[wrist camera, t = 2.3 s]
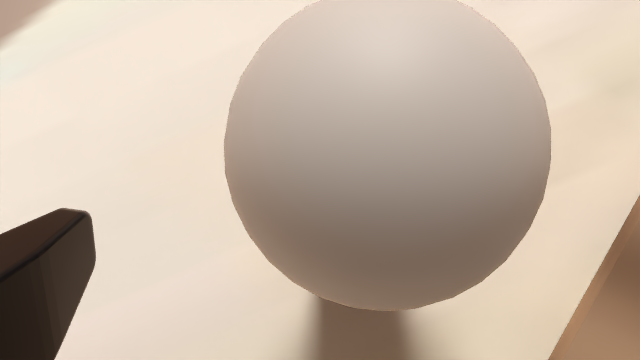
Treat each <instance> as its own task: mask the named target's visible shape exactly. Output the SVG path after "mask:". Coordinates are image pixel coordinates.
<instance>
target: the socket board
mask: <svg viewBox="0 0 640 360" xmlns="http://www.w3.org/2000/svg"><path fill="white" fill-rule="evenodd" d="M548 360H640V196H639V197H638V199H637V201H636V203H635V205H634V206H633V208H632V210H631V212H630V214H629V215H628V217H627V219H626V221H625V223H624V224H623V226H622V228H621V230H620V232H619V233H618V235H617V237H616V239H615V241H614V242H613V244H612V246H611V248H610V250H609V251H608V253H607V255H606V257H605V259H604V260H603V262H602V264H601V266H600V268H599V269H598V271H597V273H596V275H595V277H594V278H593V280H592V282H591V284H590V286H589V287H588V289H587V291H586V293H585V295H584V296H583V298H582V300H581V302H580V304H579V305H578V307H577V309H576V311H575V313H574V314H573V316H572V318H571V320H570V322H569V323H568V325H567V327H566V329H565V331H564V332H563V334H562V336H561V338H560V340H559V341H558V343H557V345H556V347H555V349H554V350H553V352H552V354H551V356H550V358H549V359H548Z"/></svg>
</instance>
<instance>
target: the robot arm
mask: <svg viewBox="0 0 640 360" xmlns="http://www.w3.org/2000/svg"><path fill="white" fill-rule="evenodd" d="M95 261H96V252H95V243H94V234H93V225H92V219H91V216H90V214H89V213H88V212H86V211H82V210H75V209H68V208H60V209H57V210H55V211H53V212H50V213H48V214H46V215H43V216H41V217H39V218H37V219H34V220H32V221H30V222H27V223H25V224H23V225H20V226H18V227H16V228H14V229H11V230H9V231H7V232H4V233H2V234H0V360H54V359H55V357H56V355H57V353H58V351H59V349H60V347H61V345H62V342H63V340H64V338H65V335H66V333H67V331H68V328H69V326H70V324H71V321H72V319H73V317H74V314H75V312H76V310H77V307H78V305H79V303H80V300H81V298H82V296H83V293H84V291H85V289H86V286H87V284H88V282H89V279H90V277H91V275H92V272H93V270H94V266H95Z"/></svg>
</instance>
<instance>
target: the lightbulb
mask: <svg viewBox="0 0 640 360" xmlns="http://www.w3.org/2000/svg"><path fill="white" fill-rule="evenodd" d="M224 157H225V174H226V178H227V182H228V186H229V190H230V194H231V198H232V202H233V204H234V207H235V209H236V211H237V213H238V215H239V217H240V219H241V221H242V223H243V225H244V227H245V229H246V231H247V233H248V234H249V236H250V238H251V239H252V240H253V241H254V243H255V244H256V245H257V247H258V248H259V249H260V251H261V252H262V253H263V254H264V256H265V257H266V258H267V260H268V261H269V262H270V263H271V264H273V265H274V266H275V267H276V268H277V269H278V270H279V271H281V272H282V273H283V274H284V275H285V276H286V277H288V278H289V279H290V280H291V281H292V282H294V283H296V284H297V285H299V286H301V287H303V288H304V289H306V290H308V291H310V292H312V293H313V294H315V295H317V296H319V297H320V298H323V299H326V300H329V301H332V302H336V303H339V304H342V305H345V306H348V307H351V308H359V309H367V310H376V311H394V310H405V309H416V308H419V307H423V306H426V305H429V304H433V303H436V302H439V301H443V300H446V299H449V298H453V297H455V296H456V295H458V294H460V293H462V292H464V291H466V290H467V289H469V288H471V287H473V286H475V285H477V284H478V283H480V282H482V281H483V280H484V279H485V278H486V277H488V276H489V275H490V274H491V273H492V272H493V271H495V270H496V269H497V268H498V267H499V266H500V265H502V264H503V263H504V262H505V261H506V260H507V258H508V257H509V256H510V255H511V253H512V252H513V251H514V249H515V248H516V247H517V245H518V244H519V243H520V241H521V240H522V239H523V237H524V236H525V234H526V233H527V231H528V230H529V228H530V227H531V224H532V222H533V220H534V218H535V216H536V213H537V211H538V209H539V207H540V205H541V203H542V200H543V197H544V193H545V188H546V184H547V179H548V174H549V170H550V161H551V127H550V122H549V117H548V112H547V107H546V102H545V99H544V96H543V94H542V91H541V89H540V87H539V84H538V82H537V80H536V77H535V75H534V73H533V71H532V70H531V68H530V67H529V65H528V64H527V62H526V61H525V59H524V58H523V56H522V55H521V53H520V52H519V50H518V49H517V47H516V46H515V45H514V44H513V43H512V42H511V41H510V40H509V39H508V38H507V37H506V36H505V34H504V33H503V32H502V31H501V30H500V29H499V28H498V27H497V26H496V25H495V24H494V23H492V22H491V21H490V20H488V19H487V18H485V17H484V16H483V15H481V14H480V13H478V12H477V11H476V10H474V9H473V8H471V7H469V6H467V5H465V4H463V3H461V2H459V1H457V0H320V1H318V2H316V3H313V4H311V5H309V6H307V7H305V8H304V9H302V10H301V11H299V12H298V13H296V14H295V15H293V16H292V17H291V18H289V19H288V20H286V21H285V22H283V23H282V24H281V25H280V26H279V27H278V28H277V29H276V30H275V31H274V32H273V33H272V34H271V35H270V36H269V37H268V39H267V40H266V41H265V42H264V43H263V44H262V45H261V47H260V48H259V49H258V51H257V52H256V54H255V55H254V57H253V59H252V60H251V62H250V63H249V65H248V66H247V68H246V69H245V71H244V72H243V74H242V76H241V78H240V80H239V83H238V85H237V88H236V90H235V93H234V96H233V98H232V101H231V103H230V109H229V115H228V121H227V127H226V133H225V139H224Z"/></svg>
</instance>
